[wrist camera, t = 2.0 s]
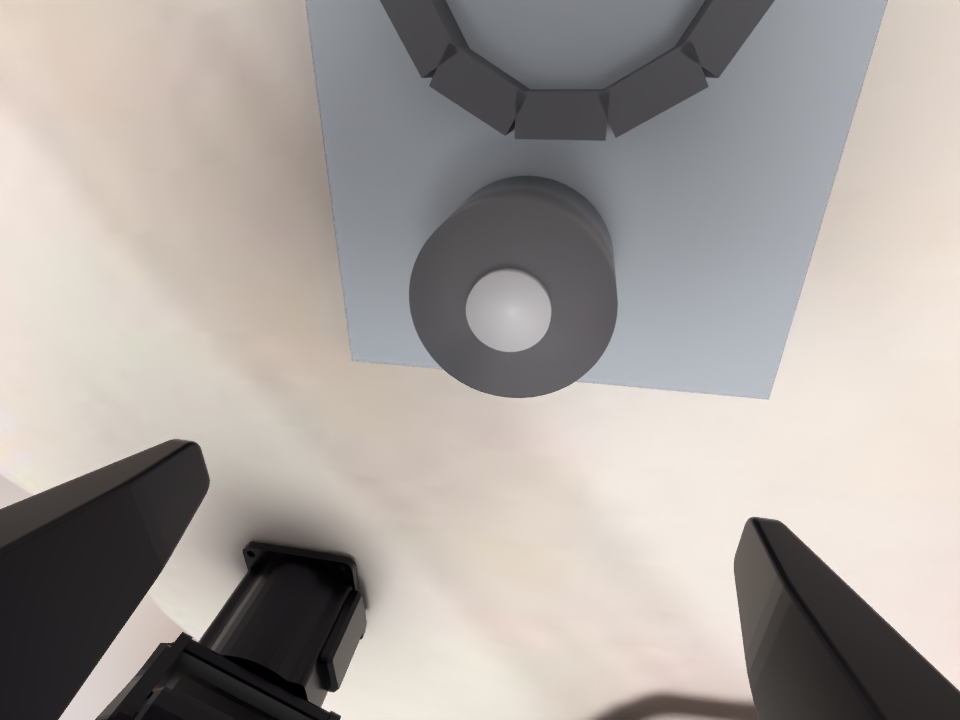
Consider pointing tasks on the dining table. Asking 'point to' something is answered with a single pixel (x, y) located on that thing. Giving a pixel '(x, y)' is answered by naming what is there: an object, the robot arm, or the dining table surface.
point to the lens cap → (517, 288)
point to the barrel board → (599, 157)
